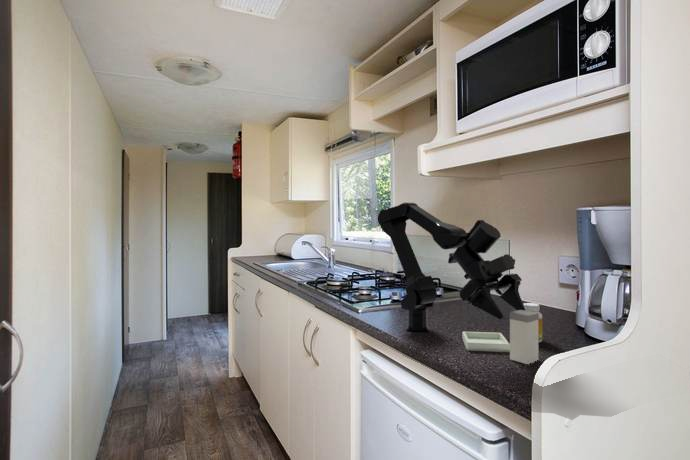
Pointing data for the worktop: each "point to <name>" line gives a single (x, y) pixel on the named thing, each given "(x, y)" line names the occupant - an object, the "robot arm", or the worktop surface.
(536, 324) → the block
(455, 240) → the robot arm
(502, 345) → the tray
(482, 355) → the worktop surface
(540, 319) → the supplement bottle
